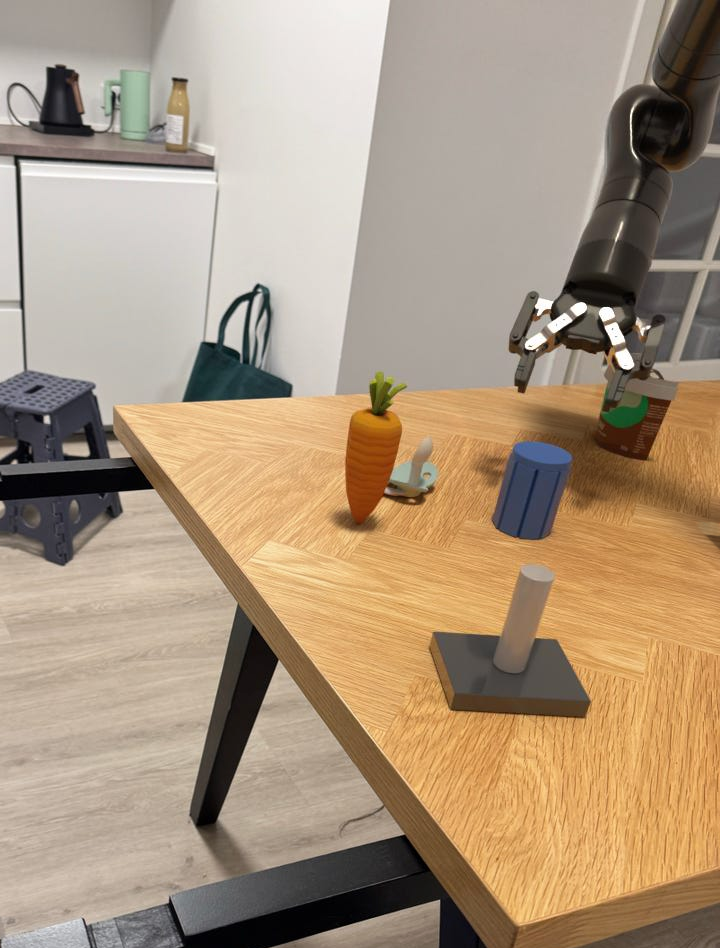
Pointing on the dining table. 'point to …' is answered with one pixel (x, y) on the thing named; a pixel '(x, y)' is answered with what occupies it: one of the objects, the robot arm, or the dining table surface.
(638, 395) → the food container
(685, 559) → the dining table surface
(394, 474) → the pacifier
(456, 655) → the peg stand
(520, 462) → the cap
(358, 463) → the carrot
